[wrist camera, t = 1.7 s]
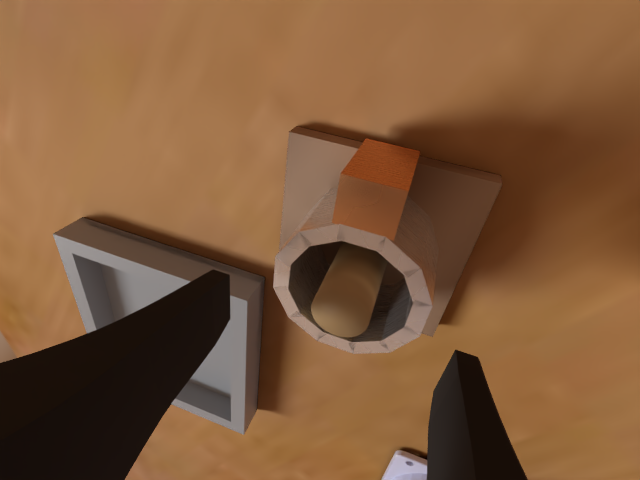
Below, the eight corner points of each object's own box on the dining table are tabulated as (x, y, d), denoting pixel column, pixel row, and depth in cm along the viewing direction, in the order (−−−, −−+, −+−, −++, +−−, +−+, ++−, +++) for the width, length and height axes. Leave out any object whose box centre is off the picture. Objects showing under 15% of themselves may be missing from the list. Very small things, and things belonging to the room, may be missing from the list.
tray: (264, 277, 20) (247, 301, 18) (256, 409, 27) (244, 434, 26) (82, 217, 22) (53, 233, 21) (120, 354, 30) (101, 374, 28)
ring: (472, 163, 13) (474, 208, 10) (414, 310, 17) (404, 371, 14) (319, 127, 14) (283, 158, 11) (300, 274, 18) (270, 324, 15)
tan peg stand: (501, 175, 13) (517, 254, 9) (433, 324, 18) (424, 423, 14) (296, 126, 15) (230, 174, 11) (282, 275, 20) (231, 351, 15)
